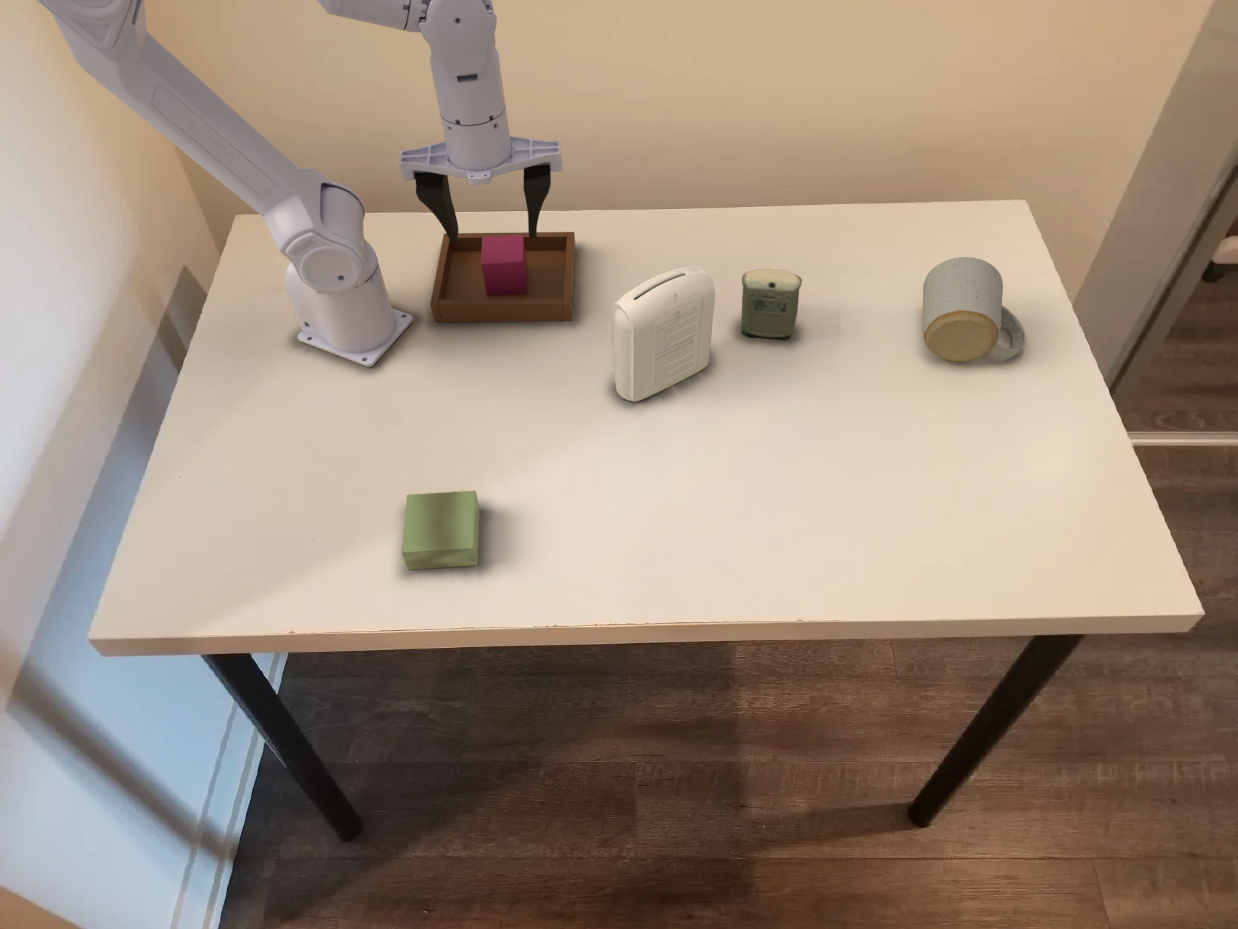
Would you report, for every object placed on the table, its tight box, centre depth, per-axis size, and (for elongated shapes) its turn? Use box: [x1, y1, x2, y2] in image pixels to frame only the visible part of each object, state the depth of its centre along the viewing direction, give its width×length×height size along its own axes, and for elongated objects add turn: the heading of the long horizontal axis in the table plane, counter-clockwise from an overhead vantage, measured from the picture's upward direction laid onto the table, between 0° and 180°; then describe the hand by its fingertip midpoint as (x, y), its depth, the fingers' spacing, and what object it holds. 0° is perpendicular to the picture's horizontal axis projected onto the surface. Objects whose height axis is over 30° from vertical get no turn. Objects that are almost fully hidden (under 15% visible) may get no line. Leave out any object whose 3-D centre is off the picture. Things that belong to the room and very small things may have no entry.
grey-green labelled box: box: [740, 268, 803, 341], centre depth 94 cm, size 6×5×8 cm
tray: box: [429, 231, 577, 323], centre depth 101 cm, size 15×12×2 cm
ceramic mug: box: [921, 256, 1027, 363], centre depth 92 cm, size 11×8×8 cm
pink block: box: [481, 235, 527, 295], centre depth 100 cm, size 4×4×4 cm
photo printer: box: [611, 265, 716, 403], centre depth 89 cm, size 10×4×12 cm, turn 123°
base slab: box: [401, 490, 481, 571], centre depth 81 cm, size 6×6×3 cm
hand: (493, 233), depth 91 cm, fingers open, 7 cm apart
